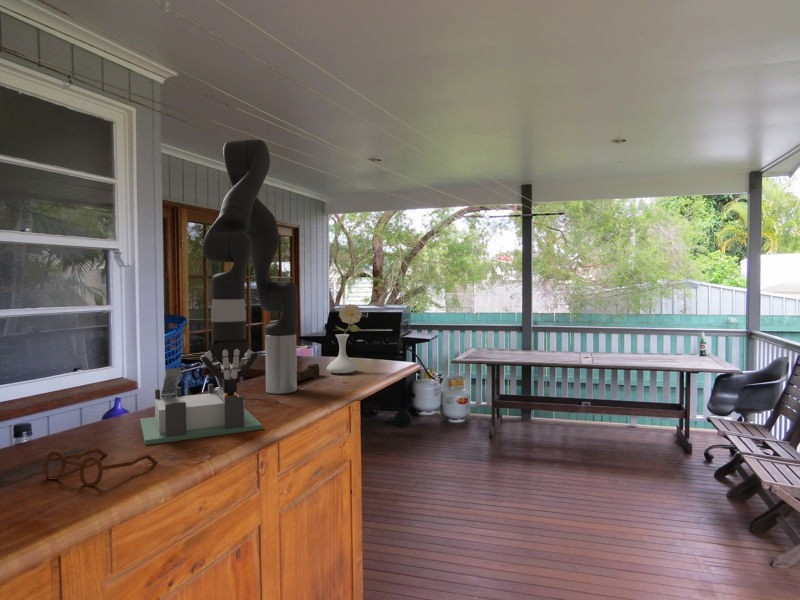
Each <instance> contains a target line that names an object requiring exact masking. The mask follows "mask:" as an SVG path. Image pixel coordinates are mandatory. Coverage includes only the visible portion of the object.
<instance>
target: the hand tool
mask: <svg viewBox="0 0 800 600" xmlns="http://www.w3.org/2000/svg"><path fill="white" fill-rule="evenodd" d="M318 375H319V376H320V365H319V363H314V364H309V365H307V368H305V369H302V370H297V383H299V382H301V381H304V380H307V379H314V378H313V377H316V376H318ZM319 376H318V377H319ZM316 378H317V377H316Z"/></svg>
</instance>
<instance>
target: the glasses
mask: <svg viewBox="0 0 800 600" xmlns="http://www.w3.org/2000/svg"><path fill="white" fill-rule="evenodd" d="M92 453H97V454H98V455H101V456H102V457H106V456H105V455H107V456H109V455H108V453H106V452H104V451H102V450H100V448H93V449H92V448H91V449H88V450H85V451H84V452H80V453H77V454H68V455H64V454H63V453H62V452H60V451H51V452H49V453H48V454H47V455H46V456H45V458H44V459H43V466H42V469H43V470H42V471H43V475H44V476H46V477H51V478H56V479H57V480H59V479H61V478H62V477H63V474H64V473H65V469H66V465H73V466H77V467H78V468H79V479H80V483H82V485H83V486H85V485H87V486H86V487H88V486H92V487H96V486H97V485H98V484H99V483H100V482H101V480H102V477H103V473H104V470H110V469H111V470H112V469H116V468H117V469H118V468H123V467H129V466H133V465H136V464H137V463H138V462H140V461H142V460H146V459H147V460H148V461H149V462H151V463H152V464H153V465H155V464H158V461H157V460H156V459H155V458H153V457H152V456H151V455H150V454H145V455H141V456H138V457H136V458H135V459H133V460H131V461H127V462H120V463H113V464H112V463H111V464H105V465H103V463H102V461H101V460H100V459H99V458H98V457H96V456H89V457H86V458H84V459H83V460H82V462H81V461H78V460H73V459H77V458H78V459H80V458H83V457H85V456H86V455H89V454H92ZM71 459H72V460H71ZM55 461H60V463H61V466H60V470H59V473H58V474H57V475H56V476H53V475H51V474H50V473H49V470H48V466H49V465H48V464H49V462H55ZM91 461H92V462H94V463H96V465H97V467H98V471H97V473H98V474H97V476H96V479H95V481H93V482H89V481H87V480H86V478H85V472H84V471H85V467H86V464H87V463H89V462H91ZM46 477H45V478H46Z"/></svg>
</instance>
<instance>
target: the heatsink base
mask: <svg viewBox="0 0 800 600" xmlns="http://www.w3.org/2000/svg"><path fill="white" fill-rule="evenodd" d="M244 398H245V397H244V396H243V395H239V394H237V397H227V398H224V401H223V400H222V399H221V398H220V397H219V396H218V395H217V394H216V393H214V384H213V383H207V393H203V394H201V393H200V394H191V395H183V396H182V387H181V386H177V390H176V394H175V397H166V398H161V388H154V416H152V417H143V418H140V419H139V420H140V421H139V423H140V428H141V432H142V436H143V438H142V439H143V441H144V445H145V446H148V445H154V444H155V445H156V444H162V443H169V442H170V443H171V442H178V441H185V440H193V439H194V440H195V439H201V438H206V437H214V436H221V435H223V436H224V435H228V434H237V433H245V432H252V431H259V430H263V424H262V423H261V422H260V421H259V420H258V419H256V417H255V416H254V415H253V414H252V413H251V412H250V411H248V410H247V409H246V402H245V399H244Z"/></svg>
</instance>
